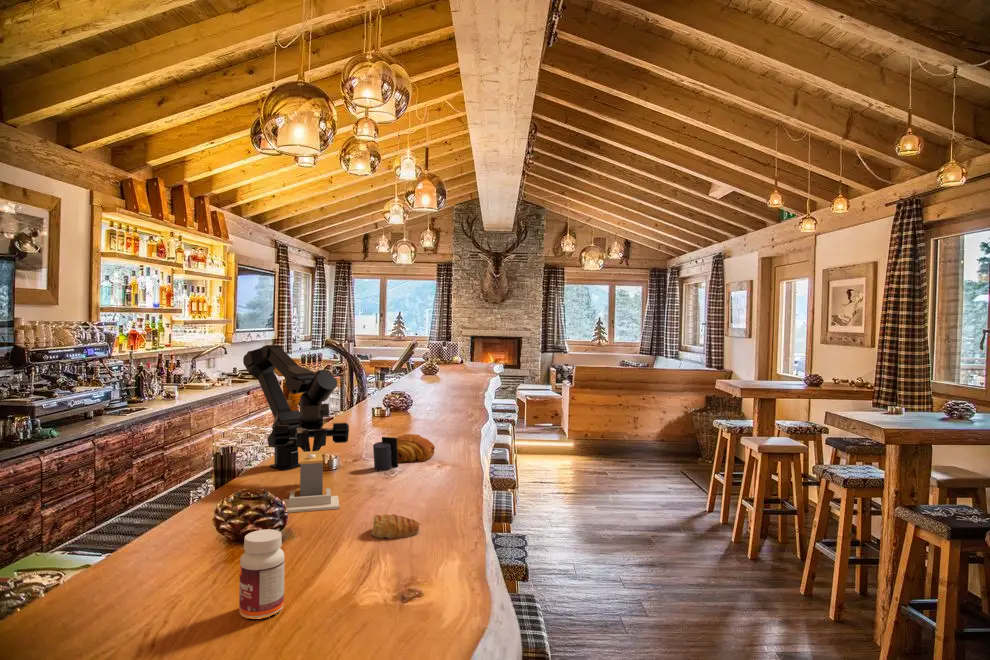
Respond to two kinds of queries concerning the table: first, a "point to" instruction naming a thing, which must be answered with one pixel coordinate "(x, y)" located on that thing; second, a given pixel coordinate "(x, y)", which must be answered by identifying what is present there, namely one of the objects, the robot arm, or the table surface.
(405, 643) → the table surface
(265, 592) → the pill bottle
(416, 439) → the croissant
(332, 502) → the bracket
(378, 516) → the pastry
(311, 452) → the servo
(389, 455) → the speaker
